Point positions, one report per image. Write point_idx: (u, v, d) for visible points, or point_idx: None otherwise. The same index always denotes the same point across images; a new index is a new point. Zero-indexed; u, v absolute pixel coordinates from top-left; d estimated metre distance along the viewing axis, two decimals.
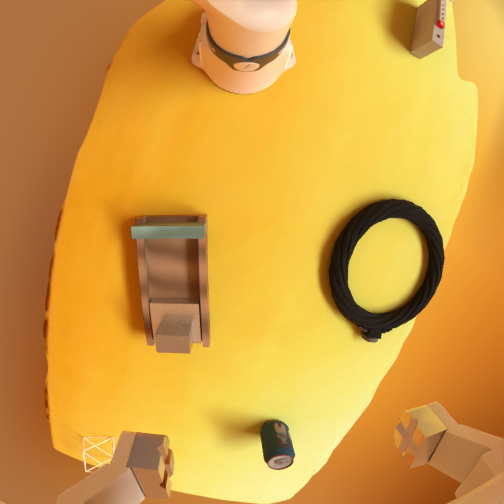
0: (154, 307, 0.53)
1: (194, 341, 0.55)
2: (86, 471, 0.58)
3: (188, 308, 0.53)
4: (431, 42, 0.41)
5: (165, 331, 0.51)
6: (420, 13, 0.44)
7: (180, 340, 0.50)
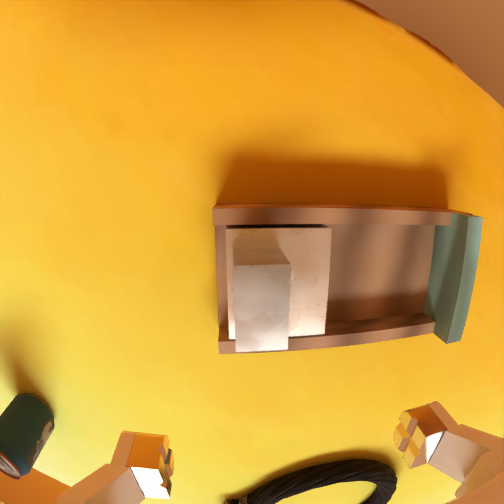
0: (321, 239, 0.23)
1: (233, 325, 0.24)
2: None
3: (316, 313, 0.25)
4: None
5: None
6: None
7: (273, 331, 0.20)
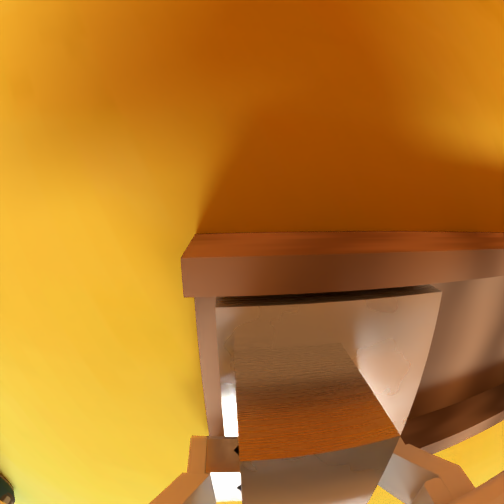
0: (421, 316, 0.10)
1: None
2: None
3: None
4: None
5: None
6: None
7: None
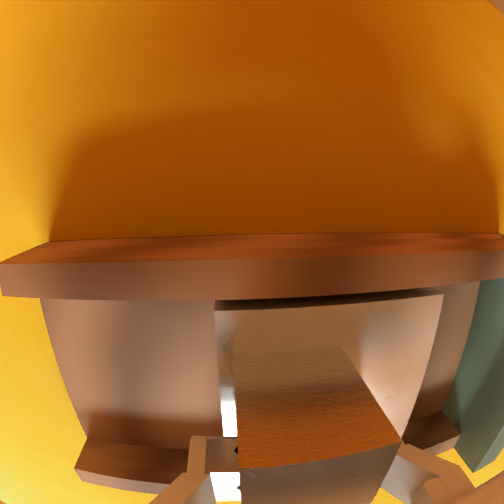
0: (422, 318, 0.10)
1: None
2: None
3: None
4: None
5: None
6: None
7: None
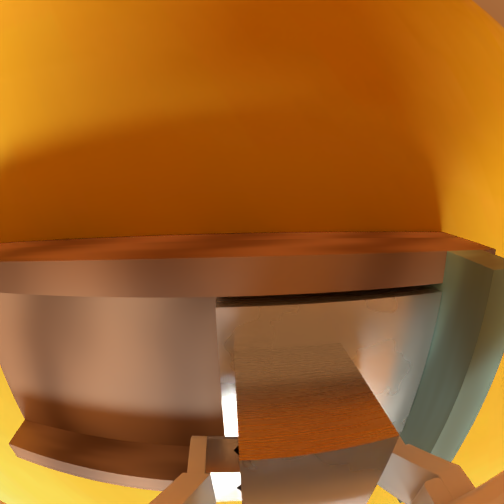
0: (421, 316, 0.10)
1: None
2: None
3: None
4: None
5: None
6: None
7: None
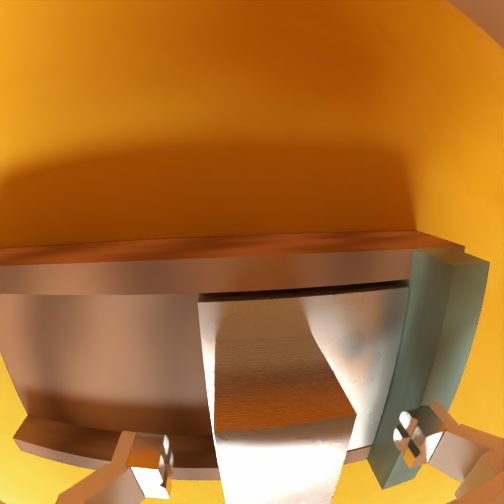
0: (389, 309, 0.11)
1: None
2: None
3: (364, 423, 0.12)
4: None
5: None
6: None
7: None
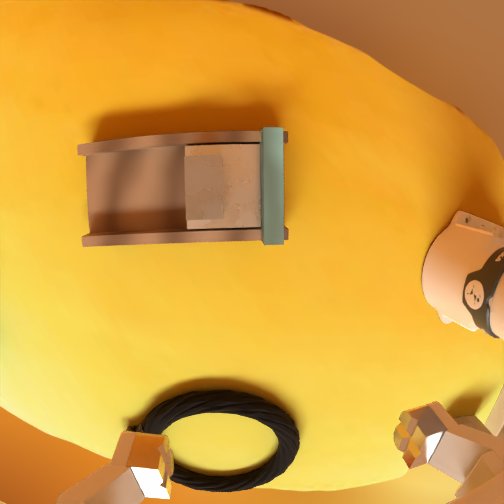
0: (252, 152, 0.32)
1: None
2: None
3: (252, 209, 0.33)
4: None
5: None
6: (471, 420, 0.50)
7: (212, 203, 0.28)
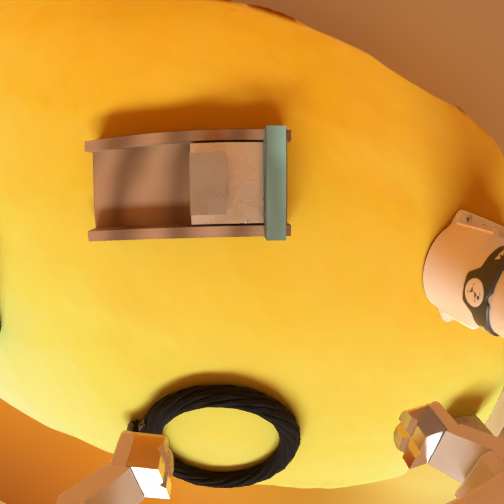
0: (256, 149, 0.32)
1: None
2: None
3: (255, 205, 0.34)
4: None
5: None
6: (472, 420, 0.50)
7: (216, 199, 0.29)
